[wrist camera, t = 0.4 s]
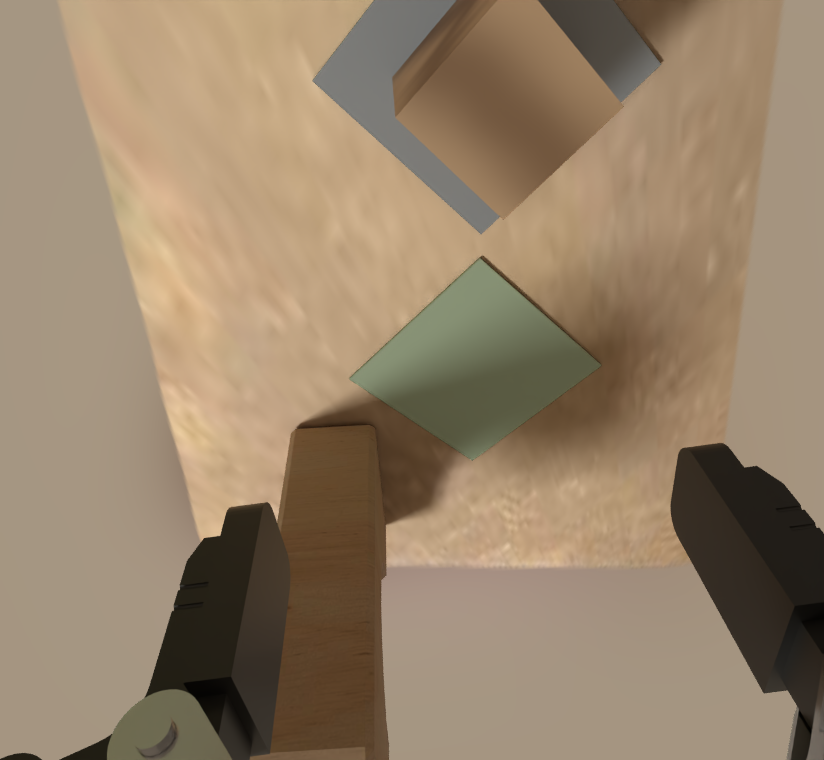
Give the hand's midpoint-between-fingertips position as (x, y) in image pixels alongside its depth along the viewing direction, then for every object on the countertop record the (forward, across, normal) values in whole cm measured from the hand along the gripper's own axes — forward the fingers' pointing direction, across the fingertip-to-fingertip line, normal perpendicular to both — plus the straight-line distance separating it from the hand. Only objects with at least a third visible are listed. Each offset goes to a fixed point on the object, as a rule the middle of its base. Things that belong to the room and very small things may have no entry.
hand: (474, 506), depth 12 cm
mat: (+23, -3, +12) cm, 26 cm away
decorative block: (+25, +7, +21) cm, 33 cm away
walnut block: (+22, -4, -4) cm, 22 cm away
